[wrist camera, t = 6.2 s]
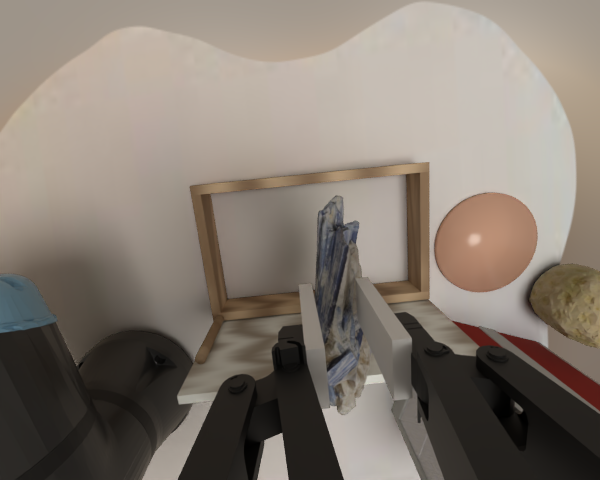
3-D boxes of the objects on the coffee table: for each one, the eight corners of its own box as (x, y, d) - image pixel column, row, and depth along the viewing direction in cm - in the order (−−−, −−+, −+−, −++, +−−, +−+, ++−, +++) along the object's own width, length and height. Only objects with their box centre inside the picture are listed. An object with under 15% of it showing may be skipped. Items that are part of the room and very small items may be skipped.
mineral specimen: (325, 365, 26) (373, 382, 25) (278, 431, 19) (342, 463, 17) (348, 197, 24) (403, 203, 22) (304, 195, 16) (382, 205, 14)
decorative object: (536, 250, 43) (541, 272, 35) (637, 265, 37) (669, 295, 29) (522, 308, 45) (523, 341, 38) (614, 330, 40) (638, 374, 32)
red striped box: (428, 313, 41) (677, 567, 15) (544, 342, 43) (956, 617, 16) (389, 413, 44) (534, 766, 18) (497, 436, 46) (776, 792, 20)
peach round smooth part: (434, 295, 40) (436, 297, 40) (434, 198, 38) (436, 198, 37) (530, 285, 40) (533, 286, 40) (537, 187, 38) (541, 188, 37)
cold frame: (222, 314, 40) (178, 404, 24) (200, 184, 36) (132, 194, 21) (416, 293, 40) (495, 370, 25) (414, 163, 36) (507, 156, 21)
